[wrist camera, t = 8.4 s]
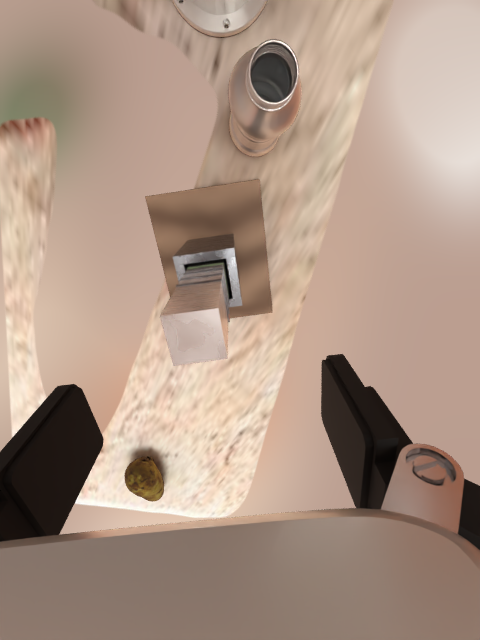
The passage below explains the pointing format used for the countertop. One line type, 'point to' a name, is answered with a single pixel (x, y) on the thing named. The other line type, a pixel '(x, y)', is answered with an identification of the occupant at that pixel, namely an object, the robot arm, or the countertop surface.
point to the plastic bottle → (263, 96)
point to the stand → (216, 239)
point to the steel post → (198, 314)
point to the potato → (144, 479)
